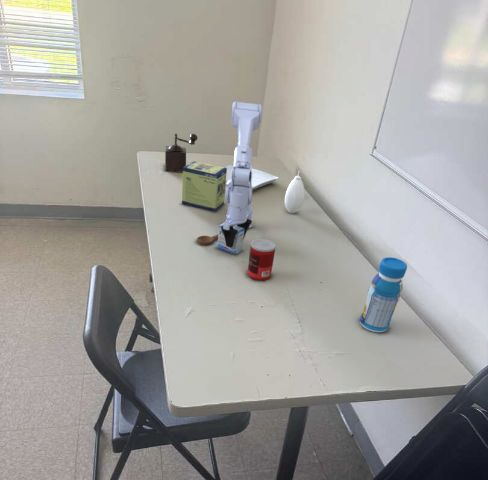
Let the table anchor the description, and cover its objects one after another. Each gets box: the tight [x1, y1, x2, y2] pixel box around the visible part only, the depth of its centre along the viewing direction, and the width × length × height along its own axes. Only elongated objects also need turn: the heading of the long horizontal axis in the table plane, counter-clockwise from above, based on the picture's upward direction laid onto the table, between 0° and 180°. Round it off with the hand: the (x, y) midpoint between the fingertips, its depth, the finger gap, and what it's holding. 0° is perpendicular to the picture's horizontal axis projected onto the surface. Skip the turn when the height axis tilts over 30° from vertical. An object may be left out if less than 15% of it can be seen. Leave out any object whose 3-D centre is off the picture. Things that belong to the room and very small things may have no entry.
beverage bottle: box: [359, 256, 408, 333], centre depth 121 cm, size 8×8×20 cm
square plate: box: [223, 163, 280, 191], centre depth 215 cm, size 27×27×4 cm
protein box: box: [181, 161, 227, 213], centre depth 183 cm, size 10×16×16 cm
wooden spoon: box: [196, 234, 218, 246], centre depth 161 cm, size 15×5×1 cm, turn 135°
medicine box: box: [216, 221, 245, 255], centre depth 153 cm, size 8×4×9 cm, turn 61°
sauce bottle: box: [284, 171, 305, 214], centre depth 186 cm, size 8×8×18 cm
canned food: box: [247, 238, 277, 282], centre depth 140 cm, size 8×8×11 cm
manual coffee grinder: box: [164, 133, 199, 173], centre depth 217 cm, size 16×11×18 cm
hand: (234, 242), depth 153 cm, fingers open, 7 cm apart
